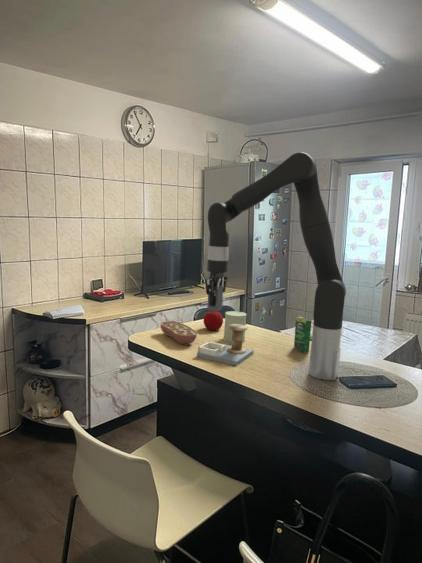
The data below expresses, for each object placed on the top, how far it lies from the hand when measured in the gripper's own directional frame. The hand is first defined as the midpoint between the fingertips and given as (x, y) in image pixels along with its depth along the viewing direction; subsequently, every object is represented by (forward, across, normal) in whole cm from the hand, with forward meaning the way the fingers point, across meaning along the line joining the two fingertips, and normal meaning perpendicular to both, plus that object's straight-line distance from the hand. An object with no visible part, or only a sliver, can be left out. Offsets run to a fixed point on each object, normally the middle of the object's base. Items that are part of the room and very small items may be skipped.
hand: (215, 304), depth 153 cm
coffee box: (+19, +28, -26) cm, 43 cm away
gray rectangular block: (+2, 0, 0) cm, 2 cm away
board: (+19, +3, -4) cm, 20 cm away
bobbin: (+18, +6, -7) cm, 20 cm away
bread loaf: (+20, +9, +21) cm, 30 cm away
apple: (+19, +32, +17) cm, 41 cm away
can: (+19, +24, +2) cm, 31 cm away
